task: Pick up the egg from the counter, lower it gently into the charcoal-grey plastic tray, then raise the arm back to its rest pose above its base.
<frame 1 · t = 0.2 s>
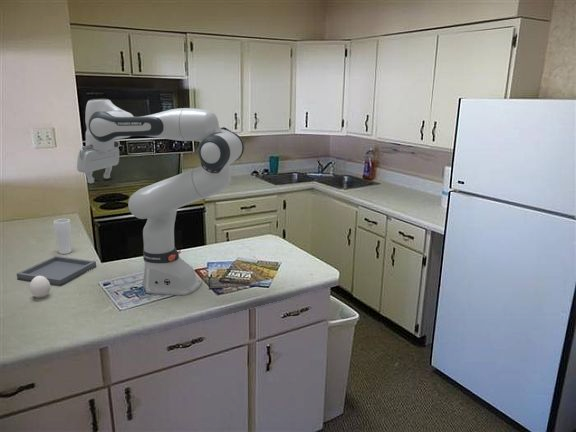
hand: (99, 180, 164), 39 cm above the worktop, tool pointing down, fingers open, 8 cm apart
drinking glass: (65, 252, 198), on the worktop
tray: (58, 272, 176), on the worktop
egg: (41, 297, 156), on the worktop
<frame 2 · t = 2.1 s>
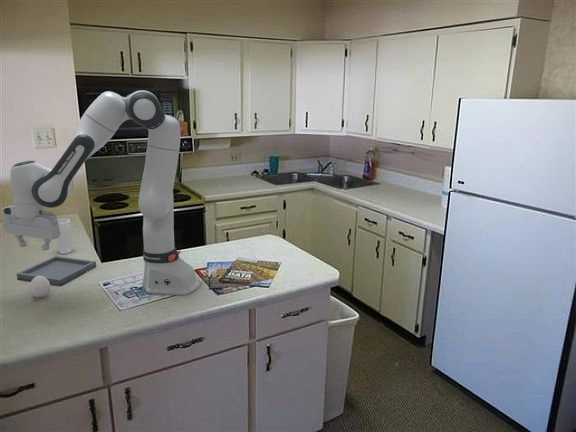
hand: (34, 248, 151), 18 cm above the worktop, tool pointing down, fingers open, 8 cm apart
nothing on the worktop moved.
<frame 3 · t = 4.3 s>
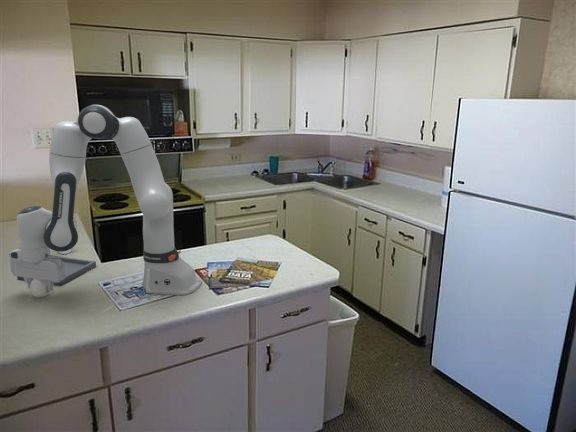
hand: (40, 289, 155), 3 cm above the worktop, tool pointing down, fingers closed on egg, 6 cm apart
egg: (41, 297, 156), on the worktop, touching gripper
everything else where it was.
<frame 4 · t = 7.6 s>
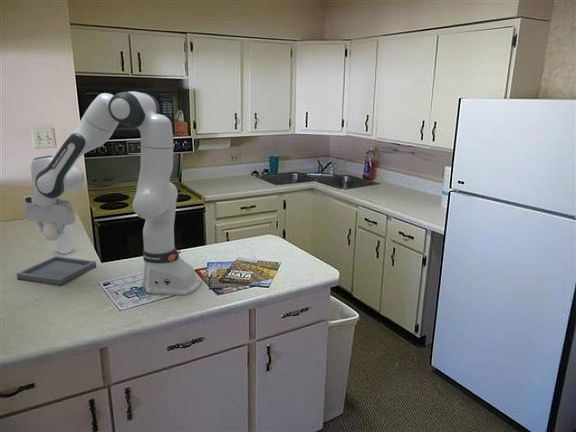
hand: (52, 232, 170), 17 cm above the worktop, tool pointing down, fingers closed on egg, 6 cm apart
egg: (53, 240, 171), point 14 cm above the worktop, touching gripper
everything else where it was.
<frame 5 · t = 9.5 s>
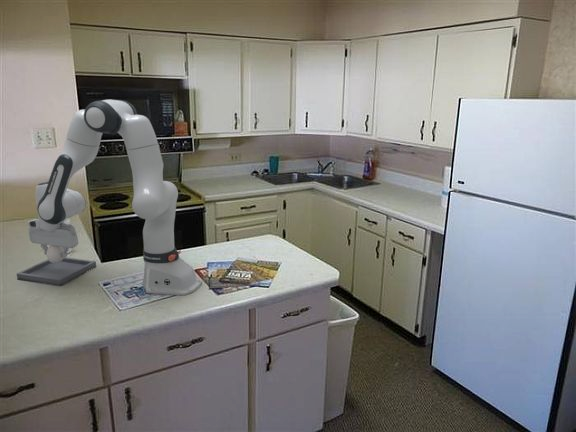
hand: (55, 255, 174), 7 cm above the worktop, tool pointing down, fingers closed on egg, 6 cm apart
egg: (56, 263, 175), point 4 cm above the worktop, touching gripper
everything else where it was.
when the fingers open (5 cm above the worktop, at t = 10.9 s): egg drops 1 cm, resting on tray.
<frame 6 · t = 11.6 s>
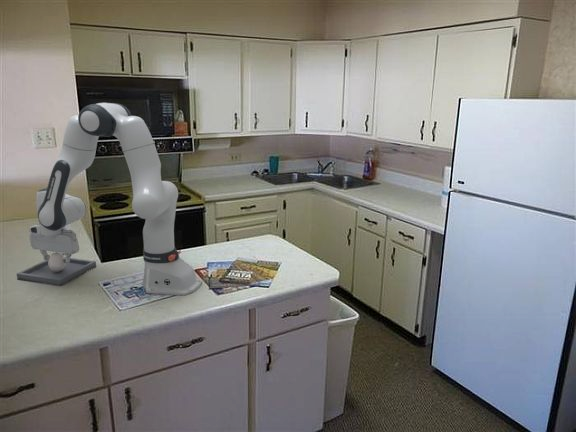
hand: (56, 261, 175), 5 cm above the worktop, tool pointing down, fingers open, 8 cm apart
egg: (58, 271, 176), point 1 cm above the worktop, touching tray
everything else where it was.
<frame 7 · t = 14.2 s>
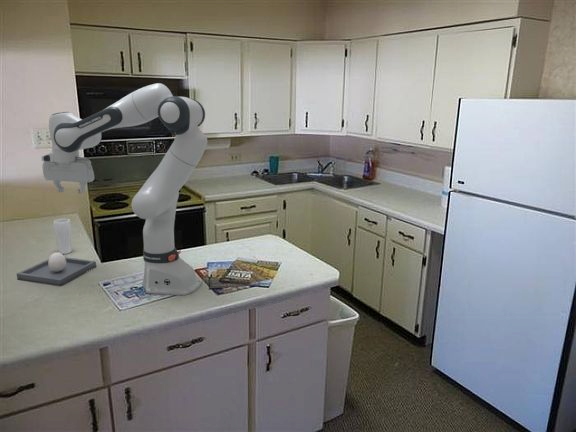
hand: (71, 192, 167), 33 cm above the worktop, tool pointing down, fingers open, 8 cm apart
nothing on the worktop moved.
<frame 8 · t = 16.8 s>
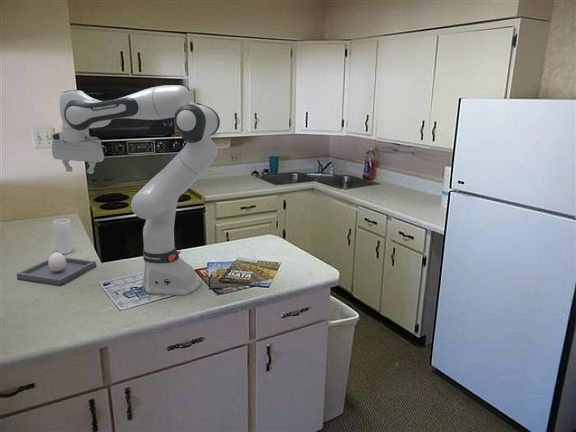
hand: (79, 172, 166), 41 cm above the worktop, tool pointing down, fingers open, 8 cm apart
nothing on the worktop moved.
at the end: egg inside the target area on the tray (0.2 cm from its centre), point 0.6 cm above the tray's base; the gripper is holding nothing; egg touching tray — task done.
